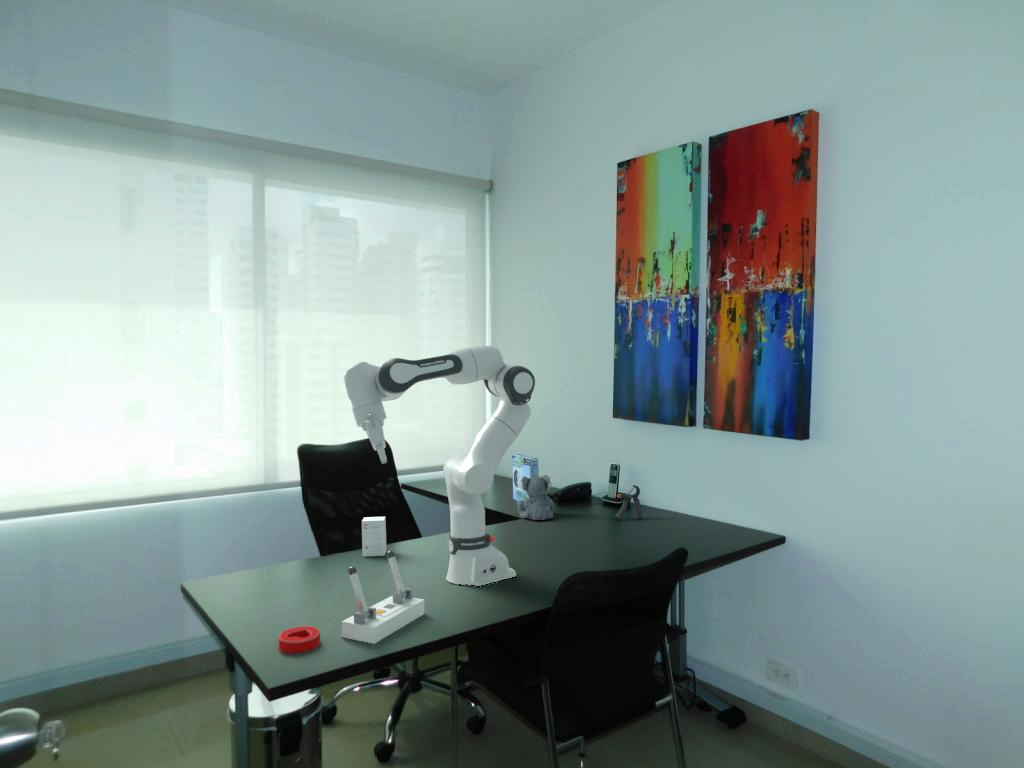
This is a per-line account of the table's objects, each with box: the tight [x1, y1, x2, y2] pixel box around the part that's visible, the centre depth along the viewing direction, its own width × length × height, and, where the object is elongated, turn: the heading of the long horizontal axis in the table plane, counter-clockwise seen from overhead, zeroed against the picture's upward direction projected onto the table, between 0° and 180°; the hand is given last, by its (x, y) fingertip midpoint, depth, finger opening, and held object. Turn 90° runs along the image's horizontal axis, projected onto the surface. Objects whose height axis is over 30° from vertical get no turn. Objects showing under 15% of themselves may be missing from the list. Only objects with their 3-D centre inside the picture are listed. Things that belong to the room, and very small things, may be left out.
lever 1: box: [347, 566, 372, 619], centre depth 170 cm, size 3×2×13 cm
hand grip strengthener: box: [614, 484, 643, 520], centre depth 294 cm, size 2×12×15 cm, turn 101°
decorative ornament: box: [278, 626, 321, 654], centre depth 164 cm, size 10×10×3 cm
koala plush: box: [516, 473, 556, 521], centre depth 300 cm, size 17×18×20 cm
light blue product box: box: [511, 453, 540, 502], centre depth 334 cm, size 19×5×23 cm, turn 27°
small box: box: [361, 516, 387, 557], centre depth 244 cm, size 8×6×13 cm
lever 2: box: [386, 550, 409, 599], centre depth 184 cm, size 3×2×13 cm
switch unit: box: [341, 587, 425, 645], centre depth 177 cm, size 22×10×6 cm, turn 153°
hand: (384, 461), depth 195 cm, fingers open, 8 cm apart
